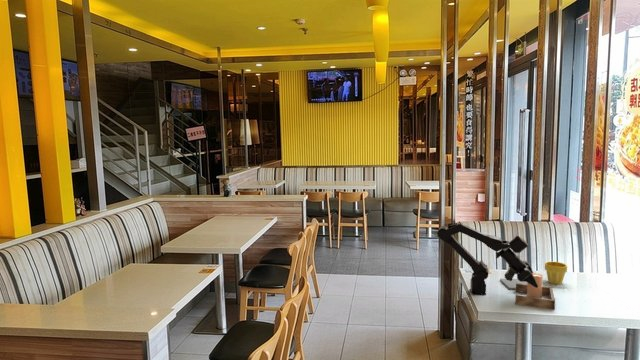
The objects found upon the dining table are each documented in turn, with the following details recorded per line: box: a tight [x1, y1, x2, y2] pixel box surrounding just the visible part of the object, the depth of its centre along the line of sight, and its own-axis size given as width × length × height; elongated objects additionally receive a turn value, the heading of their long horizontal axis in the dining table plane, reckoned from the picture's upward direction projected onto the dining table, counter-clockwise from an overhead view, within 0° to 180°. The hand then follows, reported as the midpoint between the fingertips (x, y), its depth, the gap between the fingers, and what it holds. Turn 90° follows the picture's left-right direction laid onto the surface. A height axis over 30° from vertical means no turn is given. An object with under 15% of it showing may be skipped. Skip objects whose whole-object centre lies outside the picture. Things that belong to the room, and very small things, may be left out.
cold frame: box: [514, 283, 556, 310], centre depth 204 cm, size 16×19×4 cm
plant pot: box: [544, 261, 568, 285], centre depth 227 cm, size 10×10×10 cm
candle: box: [526, 272, 544, 298], centre depth 203 cm, size 6×6×12 cm
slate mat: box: [499, 278, 527, 291], centre depth 224 cm, size 14×14×1 cm
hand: (536, 284), depth 203 cm, fingers open, 9 cm apart
